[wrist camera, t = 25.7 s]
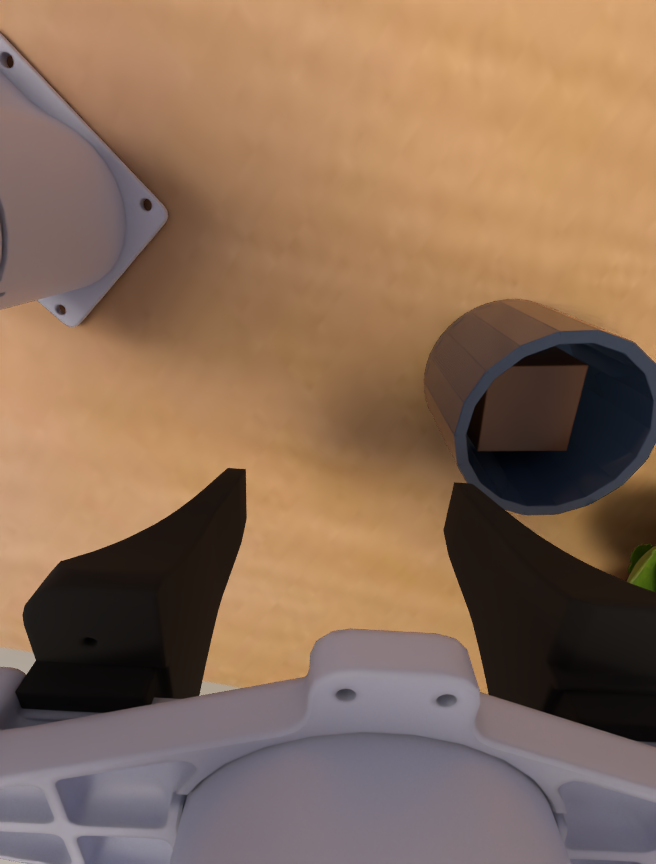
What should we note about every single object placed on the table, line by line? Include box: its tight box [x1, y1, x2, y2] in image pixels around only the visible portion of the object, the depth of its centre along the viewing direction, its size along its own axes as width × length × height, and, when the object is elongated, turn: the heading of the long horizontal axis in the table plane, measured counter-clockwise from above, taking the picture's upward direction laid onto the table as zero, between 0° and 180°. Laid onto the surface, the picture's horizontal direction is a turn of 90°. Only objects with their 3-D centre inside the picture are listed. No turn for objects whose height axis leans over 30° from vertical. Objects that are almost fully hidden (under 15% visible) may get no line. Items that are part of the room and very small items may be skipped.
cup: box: [424, 299, 656, 515], centre depth 21 cm, size 8×8×7 cm
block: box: [467, 346, 588, 452], centre depth 21 cm, size 4×4×4 cm
